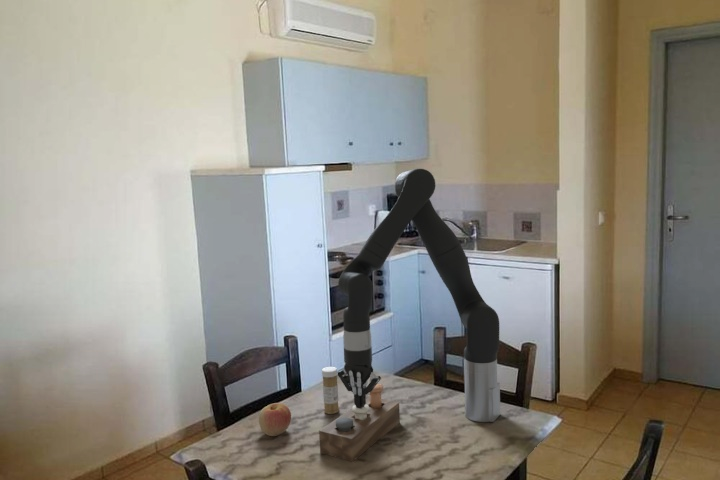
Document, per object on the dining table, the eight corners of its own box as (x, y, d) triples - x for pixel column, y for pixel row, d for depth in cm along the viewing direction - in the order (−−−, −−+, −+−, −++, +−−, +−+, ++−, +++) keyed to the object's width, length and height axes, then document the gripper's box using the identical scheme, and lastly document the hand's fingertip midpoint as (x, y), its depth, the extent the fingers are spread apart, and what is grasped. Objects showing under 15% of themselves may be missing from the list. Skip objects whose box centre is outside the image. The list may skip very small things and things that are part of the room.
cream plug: (373, 429, 163) (372, 405, 162) (364, 436, 159) (363, 411, 158) (359, 426, 165) (357, 402, 164) (350, 433, 161) (348, 408, 160)
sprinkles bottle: (333, 407, 183) (331, 365, 181) (342, 411, 179) (340, 368, 177) (321, 411, 180) (318, 368, 178) (330, 416, 176) (327, 372, 175)
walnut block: (399, 422, 170) (399, 402, 169) (352, 461, 149) (351, 438, 148) (369, 415, 175) (369, 396, 174) (320, 452, 154) (319, 430, 153)
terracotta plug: (387, 408, 169) (386, 384, 168) (379, 414, 165) (378, 390, 164) (373, 405, 171) (372, 382, 170) (365, 411, 167) (363, 387, 167)
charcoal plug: (357, 445, 156) (356, 419, 155) (348, 452, 152) (346, 426, 151) (343, 441, 158) (342, 416, 158) (333, 448, 155) (332, 423, 154)
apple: (297, 428, 169) (295, 401, 168) (280, 442, 161) (278, 414, 160) (271, 424, 173) (269, 397, 172) (253, 437, 165) (251, 410, 164)
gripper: (386, 344, 158) (388, 406, 161) (344, 338, 165) (347, 397, 168) (371, 352, 152) (374, 417, 154) (329, 345, 159) (332, 407, 161)
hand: (360, 406), depth 161 cm, fingers closed
